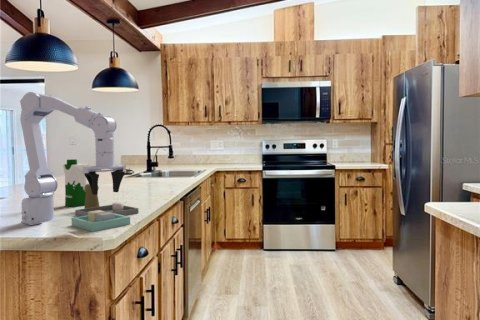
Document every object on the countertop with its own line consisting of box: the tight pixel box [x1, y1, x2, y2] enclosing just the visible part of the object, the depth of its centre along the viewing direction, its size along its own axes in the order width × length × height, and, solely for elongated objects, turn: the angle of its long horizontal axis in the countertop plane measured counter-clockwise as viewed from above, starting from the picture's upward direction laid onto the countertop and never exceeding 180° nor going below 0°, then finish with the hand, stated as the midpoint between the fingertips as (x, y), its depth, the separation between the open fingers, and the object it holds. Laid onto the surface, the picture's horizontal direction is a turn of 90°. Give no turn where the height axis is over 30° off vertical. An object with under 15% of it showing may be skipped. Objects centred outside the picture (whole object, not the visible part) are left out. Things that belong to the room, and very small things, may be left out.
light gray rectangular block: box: [96, 212, 114, 222], centre depth 123 cm, size 4×4×4 cm
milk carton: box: [62, 159, 90, 208], centre depth 166 cm, size 9×9×20 cm
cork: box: [83, 183, 100, 209], centre depth 152 cm, size 6×6×11 cm
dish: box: [70, 213, 131, 233], centre depth 125 cm, size 13×13×3 cm
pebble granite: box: [111, 201, 124, 212], centre depth 146 cm, size 4×4×4 cm
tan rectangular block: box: [88, 210, 105, 222], centre depth 126 cm, size 4×4×4 cm
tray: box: [74, 204, 139, 217], centre depth 143 cm, size 17×15×2 cm
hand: (105, 193), depth 128 cm, fingers open, 7 cm apart
